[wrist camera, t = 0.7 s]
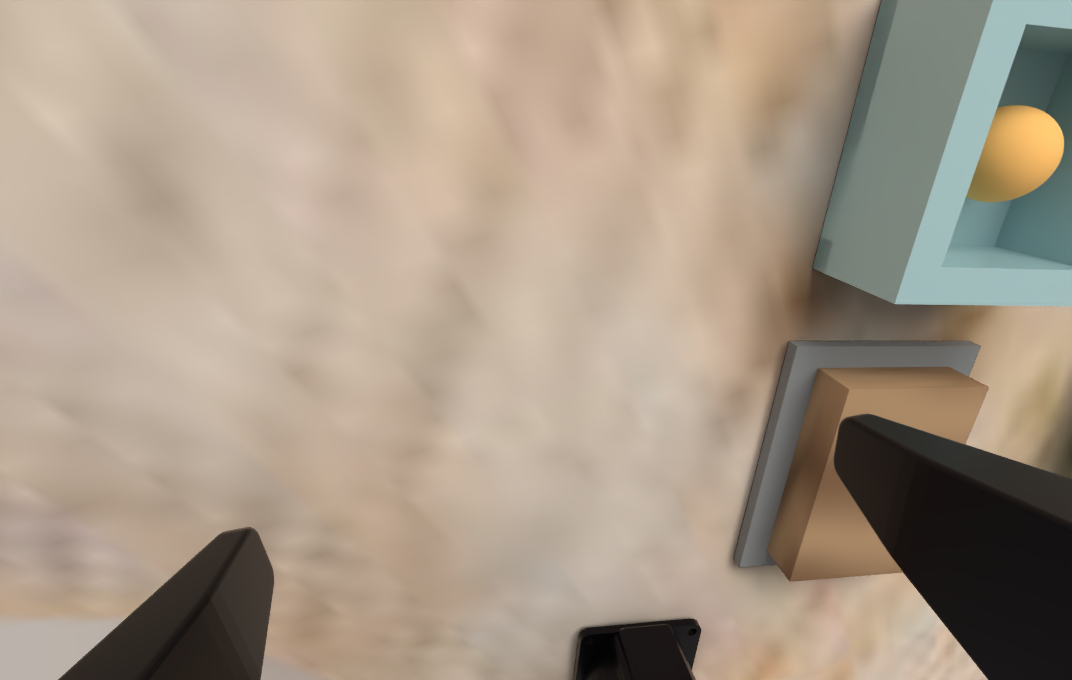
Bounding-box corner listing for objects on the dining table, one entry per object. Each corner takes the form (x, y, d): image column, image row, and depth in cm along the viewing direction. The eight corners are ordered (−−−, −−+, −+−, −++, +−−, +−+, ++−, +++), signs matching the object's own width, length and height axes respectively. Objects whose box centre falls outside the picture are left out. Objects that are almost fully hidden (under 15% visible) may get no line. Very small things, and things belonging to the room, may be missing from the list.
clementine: (981, 197, 22) (1066, 211, 19) (910, 193, 21) (985, 207, 18) (1014, 108, 20) (1109, 108, 18) (938, 102, 20) (1024, 101, 17)
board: (882, 542, 29) (912, 571, 27) (766, 550, 28) (789, 581, 26) (949, 366, 25) (989, 387, 23) (818, 367, 24) (849, 389, 22)
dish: (991, 272, 24) (1105, 306, 20) (812, 268, 23) (894, 304, 18) (1089, 19, 20) (1252, -3, 16) (882, -6, 19) (1004, -37, 15)
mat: (889, 547, 30) (897, 555, 29) (733, 558, 28) (739, 567, 28) (969, 340, 25) (980, 346, 25) (789, 340, 24) (797, 346, 23)
